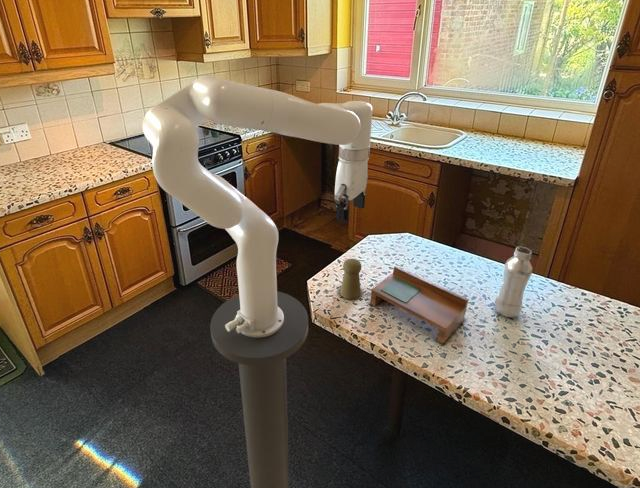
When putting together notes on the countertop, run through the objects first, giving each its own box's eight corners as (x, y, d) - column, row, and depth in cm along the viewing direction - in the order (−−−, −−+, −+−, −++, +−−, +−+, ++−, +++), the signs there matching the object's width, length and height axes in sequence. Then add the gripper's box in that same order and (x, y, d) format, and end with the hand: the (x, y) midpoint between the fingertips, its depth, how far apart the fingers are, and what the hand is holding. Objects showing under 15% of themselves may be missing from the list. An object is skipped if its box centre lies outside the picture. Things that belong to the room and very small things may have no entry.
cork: (337, 296, 115) (339, 265, 110) (342, 284, 120) (344, 254, 115) (358, 301, 113) (361, 269, 108) (362, 288, 118) (365, 257, 114)
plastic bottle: (506, 323, 105) (525, 260, 97) (487, 307, 111) (503, 246, 102) (524, 317, 108) (544, 254, 99) (505, 301, 113) (522, 241, 104)
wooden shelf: (443, 344, 99) (447, 322, 96) (370, 303, 112) (371, 283, 109) (463, 320, 107) (468, 299, 103) (393, 284, 120) (395, 265, 117)
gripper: (355, 141, 107) (352, 199, 115) (323, 160, 94) (322, 223, 102) (381, 146, 103) (376, 205, 111) (352, 166, 90) (348, 231, 98)
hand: (350, 214), depth 106 cm, fingers open, 9 cm apart
